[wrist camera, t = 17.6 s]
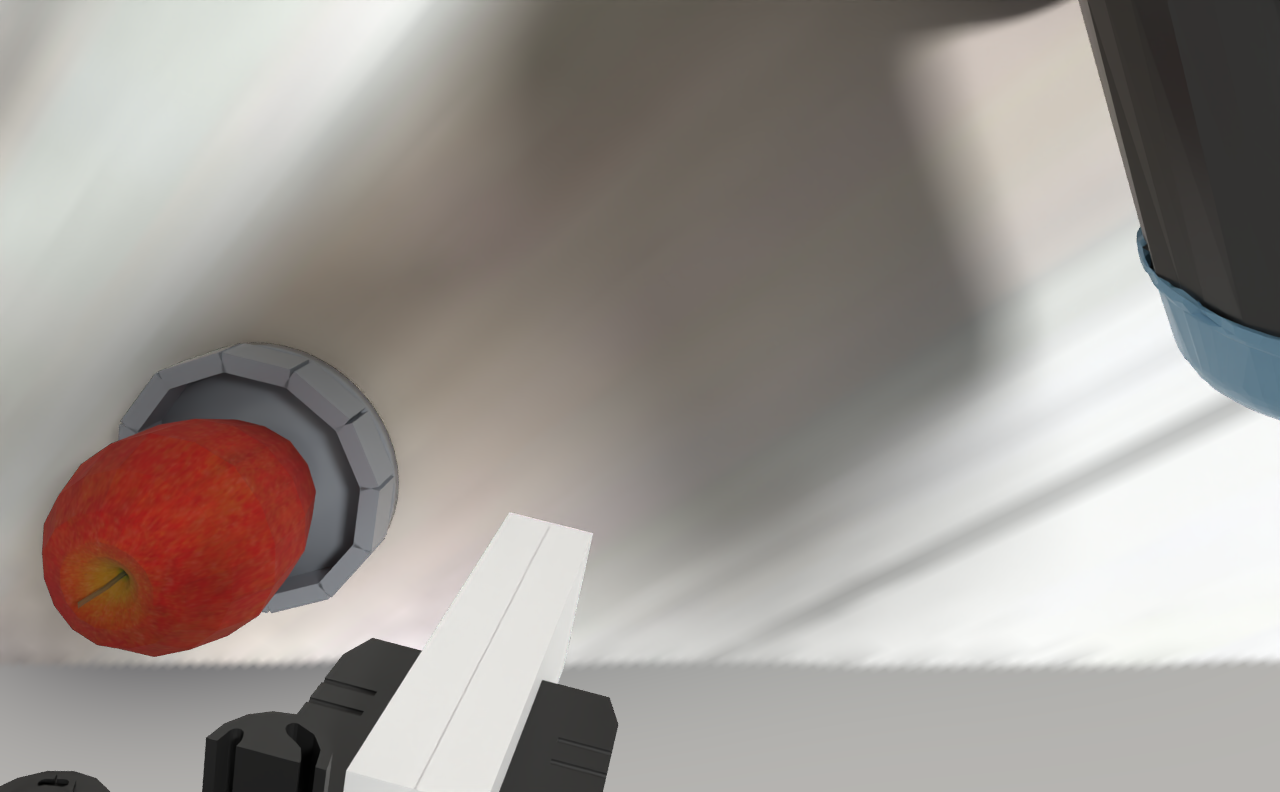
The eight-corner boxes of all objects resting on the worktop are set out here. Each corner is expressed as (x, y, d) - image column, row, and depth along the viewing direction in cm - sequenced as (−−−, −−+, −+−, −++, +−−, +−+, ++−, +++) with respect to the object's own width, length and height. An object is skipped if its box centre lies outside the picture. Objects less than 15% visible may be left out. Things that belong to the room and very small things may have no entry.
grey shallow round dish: (112, 382, 49) (72, 398, 46) (338, 310, 46) (310, 323, 43) (219, 605, 52) (188, 633, 50) (436, 551, 50) (416, 577, 47)
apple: (305, 593, 50) (143, 762, 37) (148, 496, 50) (-72, 632, 37) (387, 450, 47) (243, 579, 34) (221, 345, 47) (8, 434, 33)
